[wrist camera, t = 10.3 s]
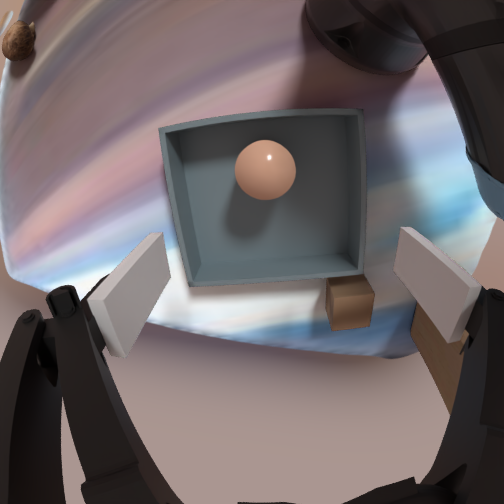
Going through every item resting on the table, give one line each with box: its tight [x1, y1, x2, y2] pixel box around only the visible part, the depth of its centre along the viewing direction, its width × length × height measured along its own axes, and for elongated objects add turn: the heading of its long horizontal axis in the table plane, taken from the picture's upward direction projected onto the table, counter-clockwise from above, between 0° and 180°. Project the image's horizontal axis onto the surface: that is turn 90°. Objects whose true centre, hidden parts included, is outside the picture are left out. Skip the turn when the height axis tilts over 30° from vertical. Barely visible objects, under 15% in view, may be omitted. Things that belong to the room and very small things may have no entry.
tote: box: [158, 108, 367, 287], centre depth 28 cm, size 17×19×5 cm
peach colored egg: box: [235, 139, 296, 200], centre depth 25 cm, size 5×5×7 cm
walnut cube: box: [326, 274, 375, 331], centre depth 33 cm, size 5×5×5 cm
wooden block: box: [411, 302, 469, 415], centre depth 26 cm, size 10×10×20 cm
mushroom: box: [2, 21, 35, 61], centre depth 18 cm, size 8×8×6 cm
